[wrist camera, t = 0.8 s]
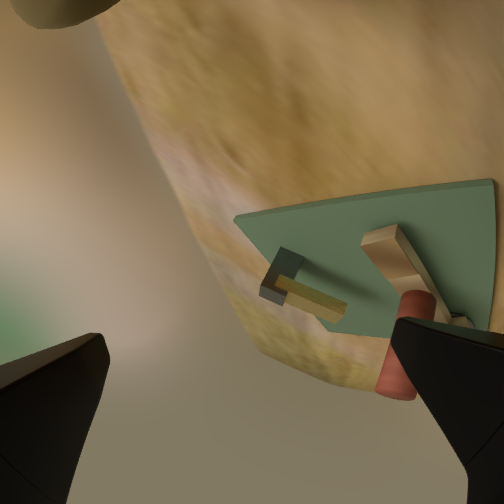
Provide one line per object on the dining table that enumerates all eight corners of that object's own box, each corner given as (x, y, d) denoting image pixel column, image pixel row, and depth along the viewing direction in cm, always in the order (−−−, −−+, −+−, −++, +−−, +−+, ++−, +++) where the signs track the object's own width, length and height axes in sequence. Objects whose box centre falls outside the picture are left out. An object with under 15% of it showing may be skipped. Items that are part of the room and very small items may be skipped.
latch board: (491, 178, 12) (493, 184, 12) (485, 338, 24) (484, 343, 23) (235, 215, 28) (232, 220, 27) (329, 327, 39) (328, 331, 39)
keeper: (279, 254, 30) (258, 296, 27) (283, 241, 27) (260, 284, 25) (348, 284, 28) (333, 328, 26) (357, 273, 26) (342, 320, 24)
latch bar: (475, 340, 23) (457, 424, 18) (430, 343, 28) (409, 419, 23) (416, 218, 16) (388, 357, 12) (348, 237, 21) (304, 352, 17)
